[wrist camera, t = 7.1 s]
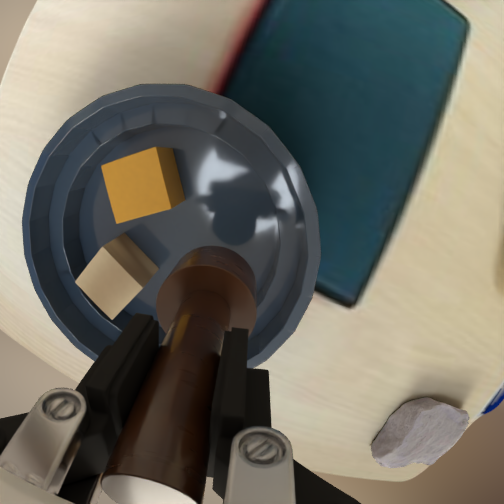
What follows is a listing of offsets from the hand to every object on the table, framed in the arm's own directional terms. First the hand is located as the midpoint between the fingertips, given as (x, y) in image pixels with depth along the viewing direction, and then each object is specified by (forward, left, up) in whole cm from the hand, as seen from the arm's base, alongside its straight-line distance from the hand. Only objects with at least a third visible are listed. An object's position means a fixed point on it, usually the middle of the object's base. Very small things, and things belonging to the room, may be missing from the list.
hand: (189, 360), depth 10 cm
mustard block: (-4, -6, -14) cm, 16 cm away
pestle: (0, 0, -7) cm, 7 cm away
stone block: (+20, +26, -15) cm, 36 cm away
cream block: (+3, -8, -14) cm, 17 cm away
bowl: (0, -4, -15) cm, 16 cm away
